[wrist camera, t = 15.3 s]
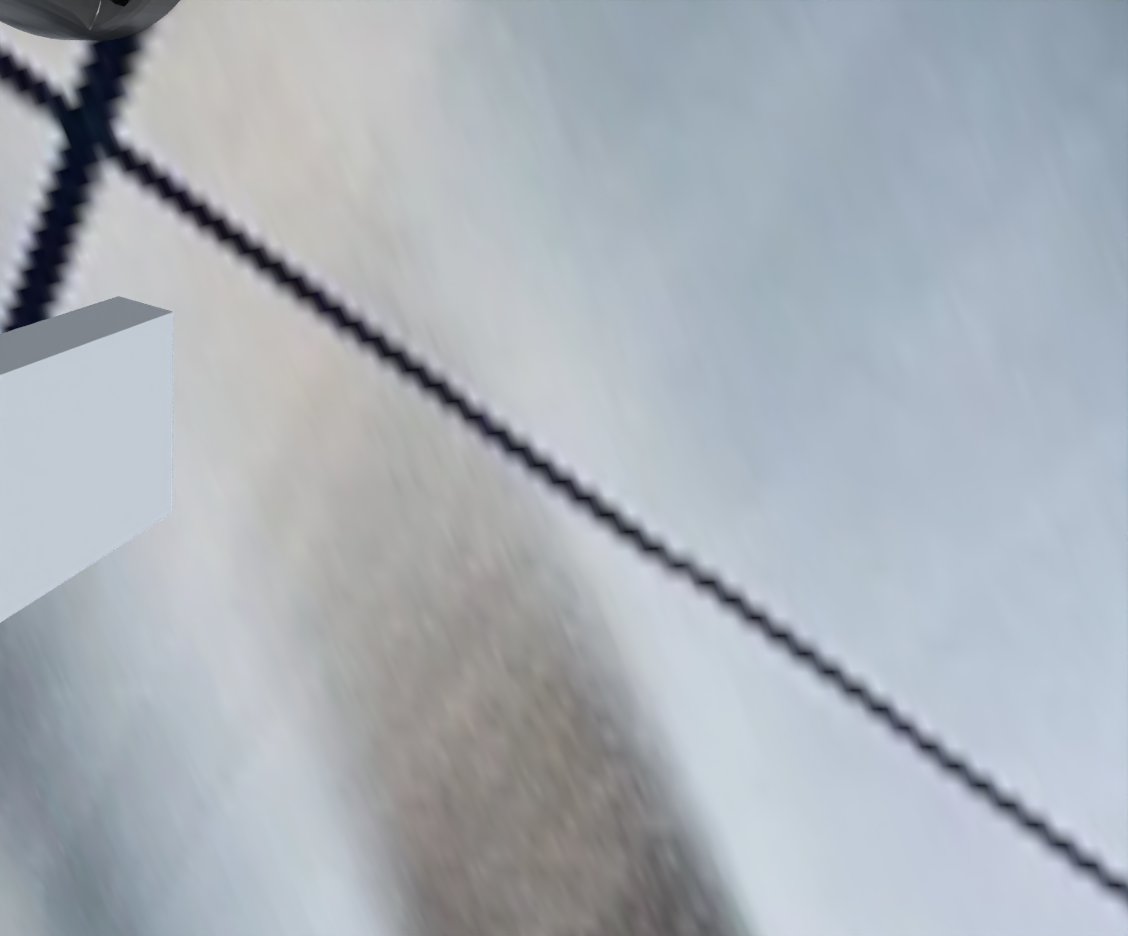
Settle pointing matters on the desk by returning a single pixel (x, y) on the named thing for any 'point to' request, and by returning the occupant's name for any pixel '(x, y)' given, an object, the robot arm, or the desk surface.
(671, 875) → the desk surface
